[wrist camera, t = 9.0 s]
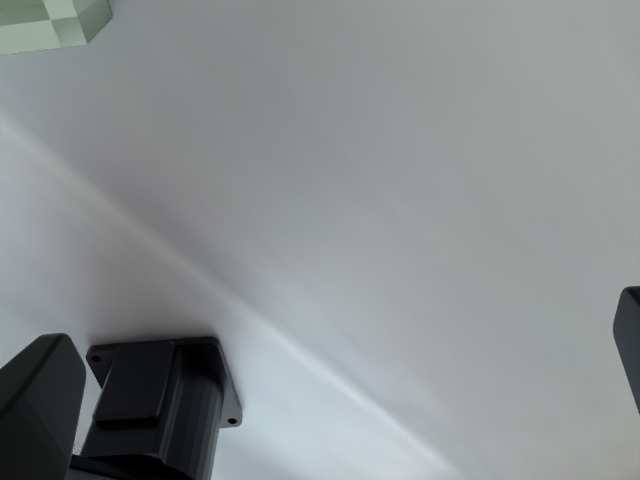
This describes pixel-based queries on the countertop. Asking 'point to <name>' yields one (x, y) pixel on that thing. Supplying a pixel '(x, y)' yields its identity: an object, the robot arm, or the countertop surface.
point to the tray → (50, 23)
